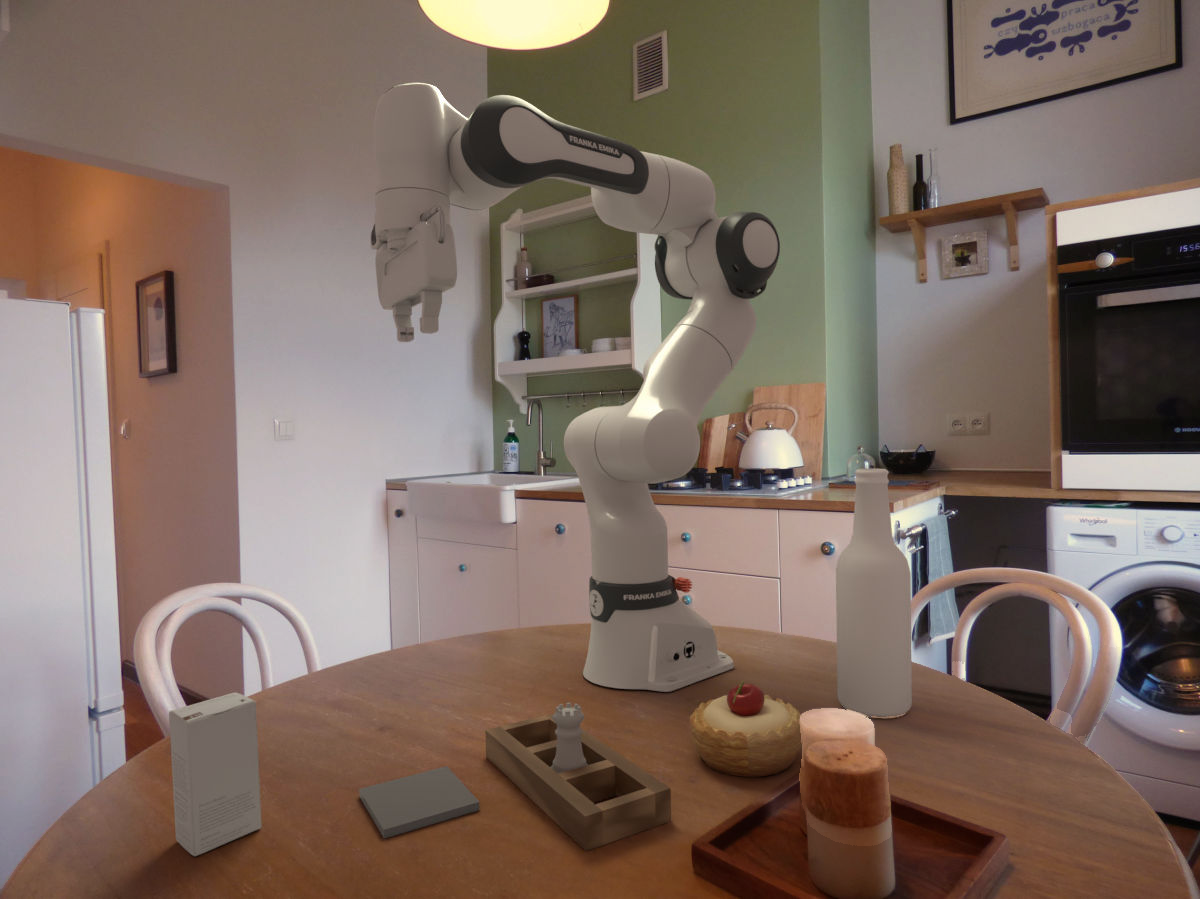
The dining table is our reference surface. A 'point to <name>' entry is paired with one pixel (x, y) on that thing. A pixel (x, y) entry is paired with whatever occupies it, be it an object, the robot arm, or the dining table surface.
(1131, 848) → the dining table surface
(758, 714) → the pastry
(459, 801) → the coaster
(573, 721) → the rook chess piece
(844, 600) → the alcohol
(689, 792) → the dining table surface
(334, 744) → the dining table surface
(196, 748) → the skincare box
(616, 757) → the three-compartment wooden tray
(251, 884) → the dining table surface
